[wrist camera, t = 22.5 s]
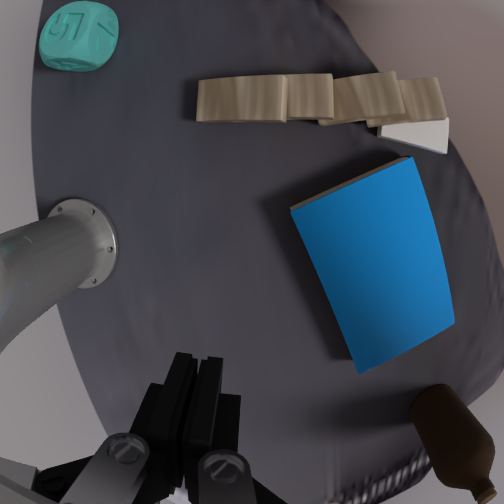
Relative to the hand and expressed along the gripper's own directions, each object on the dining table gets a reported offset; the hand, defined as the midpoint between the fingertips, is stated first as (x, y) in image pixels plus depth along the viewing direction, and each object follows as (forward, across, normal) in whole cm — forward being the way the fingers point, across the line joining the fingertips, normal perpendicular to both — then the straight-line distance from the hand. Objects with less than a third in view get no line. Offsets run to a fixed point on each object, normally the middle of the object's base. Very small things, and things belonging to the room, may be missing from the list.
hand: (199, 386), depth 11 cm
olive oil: (+29, -38, +28) cm, 56 cm away
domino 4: (+28, -13, -17) cm, 35 cm away
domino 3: (+28, -7, -16) cm, 33 cm away
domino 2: (+28, +1, -16) cm, 32 cm away
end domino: (+29, -16, -16) cm, 36 cm away
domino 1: (+28, +6, -15) cm, 32 cm away
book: (+30, -19, +3) cm, 36 cm away
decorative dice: (+29, +23, -24) cm, 44 cm away
